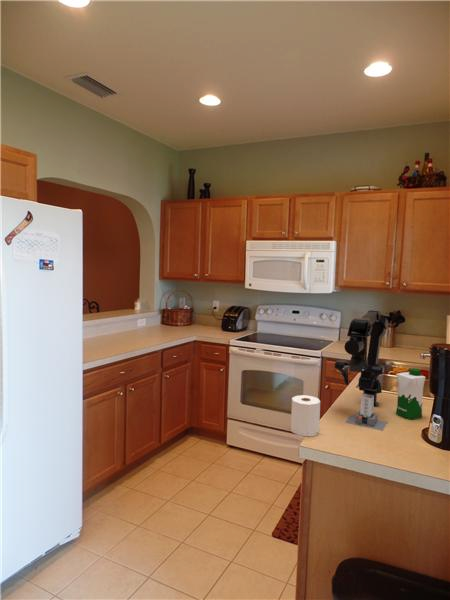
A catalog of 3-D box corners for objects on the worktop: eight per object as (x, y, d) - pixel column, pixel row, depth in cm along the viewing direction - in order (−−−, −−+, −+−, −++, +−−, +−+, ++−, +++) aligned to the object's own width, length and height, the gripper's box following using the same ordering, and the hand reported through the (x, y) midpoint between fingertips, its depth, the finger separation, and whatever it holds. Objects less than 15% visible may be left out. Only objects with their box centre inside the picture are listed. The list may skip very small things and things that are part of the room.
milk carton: (425, 420, 161) (428, 371, 160) (409, 423, 158) (411, 373, 156) (407, 412, 170) (410, 366, 168) (391, 415, 166) (394, 368, 164)
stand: (351, 416, 164) (351, 407, 164) (387, 424, 157) (388, 414, 156) (344, 424, 155) (345, 414, 155) (382, 433, 148) (383, 422, 148)
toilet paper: (323, 435, 145) (325, 403, 144) (297, 437, 143) (298, 404, 142) (312, 424, 155) (313, 394, 154) (286, 426, 153) (287, 395, 152)
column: (362, 412, 158) (363, 393, 158) (373, 414, 156) (374, 395, 156) (359, 416, 154) (360, 396, 154) (370, 418, 152) (371, 398, 152)
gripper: (331, 351, 160) (330, 389, 162) (380, 357, 151) (379, 397, 153) (338, 345, 170) (337, 381, 172) (385, 351, 161) (383, 388, 162)
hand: (358, 387), depth 164 cm, fingers open, 9 cm apart
